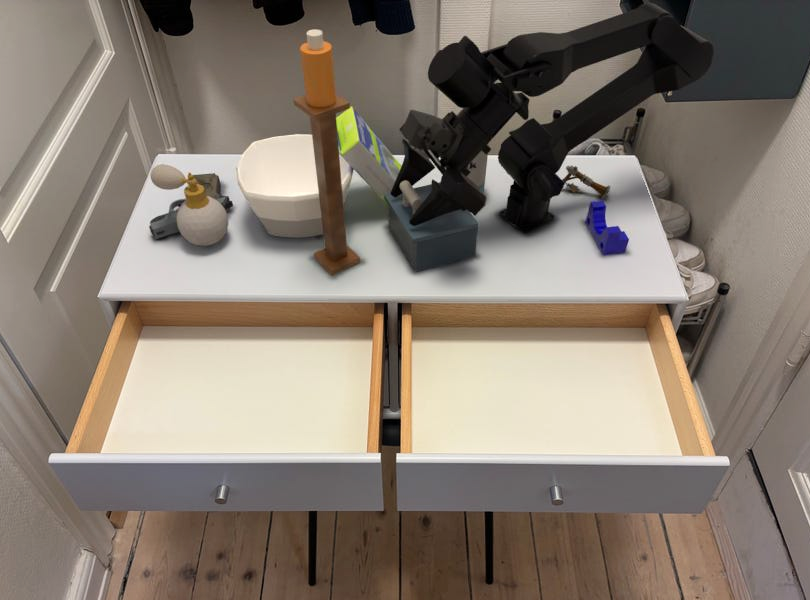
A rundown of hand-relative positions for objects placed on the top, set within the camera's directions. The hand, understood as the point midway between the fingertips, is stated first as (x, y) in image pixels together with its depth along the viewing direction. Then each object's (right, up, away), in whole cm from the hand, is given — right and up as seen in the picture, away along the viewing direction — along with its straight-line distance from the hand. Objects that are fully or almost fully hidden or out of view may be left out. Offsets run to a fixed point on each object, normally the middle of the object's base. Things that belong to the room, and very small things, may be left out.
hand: (401, 209), depth 96 cm
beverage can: (+10, +6, +15) cm, 19 cm away
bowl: (-16, +1, +11) cm, 19 cm away
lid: (+4, 0, +2) cm, 5 cm away
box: (0, +5, +13) cm, 14 cm away
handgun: (-38, +8, +15) cm, 42 cm away
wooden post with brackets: (+30, +6, +15) cm, 34 cm away
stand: (-10, -7, +4) cm, 12 cm away
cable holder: (+31, -3, +7) cm, 32 cm away
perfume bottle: (-31, -3, +7) cm, 32 cm away
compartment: (+5, -3, +6) cm, 9 cm away
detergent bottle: (-10, +10, -15) cm, 20 cm away
